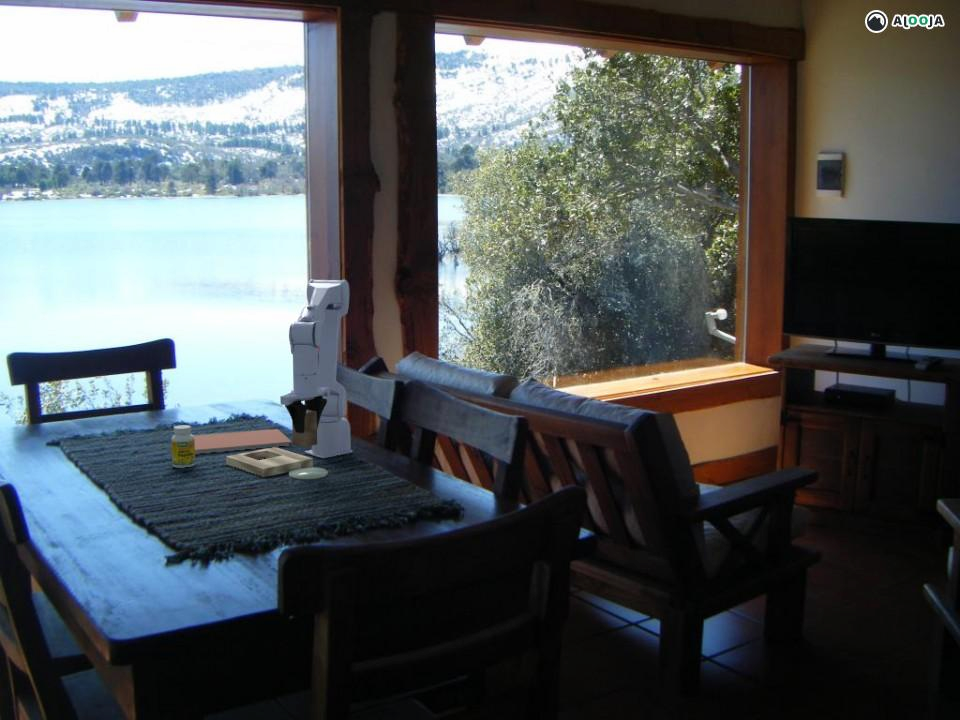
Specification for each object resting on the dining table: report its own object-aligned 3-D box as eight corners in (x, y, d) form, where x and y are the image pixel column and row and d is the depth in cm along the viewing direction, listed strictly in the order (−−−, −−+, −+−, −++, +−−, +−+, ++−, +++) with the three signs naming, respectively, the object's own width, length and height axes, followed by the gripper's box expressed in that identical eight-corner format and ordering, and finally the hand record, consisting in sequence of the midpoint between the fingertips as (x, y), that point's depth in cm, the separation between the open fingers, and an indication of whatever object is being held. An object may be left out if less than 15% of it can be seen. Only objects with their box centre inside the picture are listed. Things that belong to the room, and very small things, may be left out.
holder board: (275, 454, 264) (274, 447, 263) (313, 466, 253) (312, 458, 252) (226, 464, 254) (226, 456, 254) (263, 477, 243) (263, 468, 242)
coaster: (312, 467, 252) (312, 465, 252) (335, 474, 246) (335, 472, 246) (281, 474, 246) (281, 472, 246) (304, 481, 239) (304, 479, 239)
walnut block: (304, 442, 248) (304, 408, 247) (317, 444, 246) (316, 410, 244) (292, 445, 245) (291, 411, 243) (305, 447, 242) (304, 413, 241)
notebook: (277, 434, 288) (276, 427, 288) (291, 448, 273) (291, 440, 273) (175, 442, 278) (174, 435, 277) (184, 457, 262) (184, 449, 262)
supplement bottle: (191, 461, 256) (190, 423, 255) (198, 466, 252) (197, 427, 250) (169, 464, 253) (167, 425, 252) (176, 469, 249) (174, 430, 247)
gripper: (314, 367, 250) (315, 423, 252) (270, 375, 238) (271, 433, 241) (336, 370, 246) (337, 427, 248) (292, 379, 235) (293, 438, 237)
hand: (306, 430), depth 244 cm, fingers closed on walnut block, 4 cm apart
